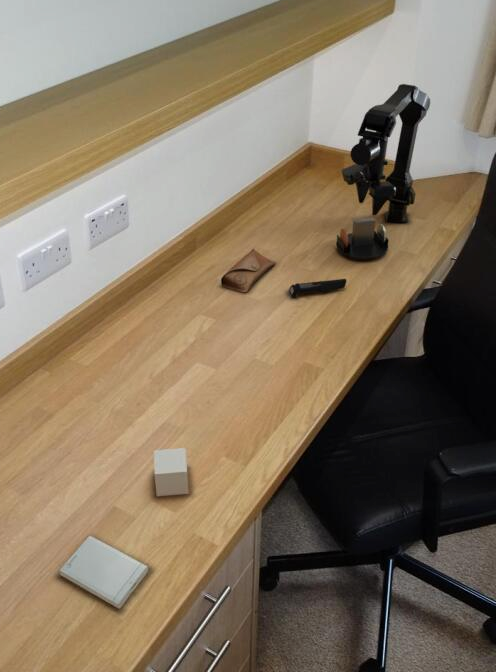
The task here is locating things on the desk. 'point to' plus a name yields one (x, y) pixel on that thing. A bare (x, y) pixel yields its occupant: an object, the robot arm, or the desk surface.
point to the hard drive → (104, 571)
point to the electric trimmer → (316, 287)
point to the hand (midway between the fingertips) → (367, 208)
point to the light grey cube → (170, 472)
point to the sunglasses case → (246, 271)
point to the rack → (363, 240)
